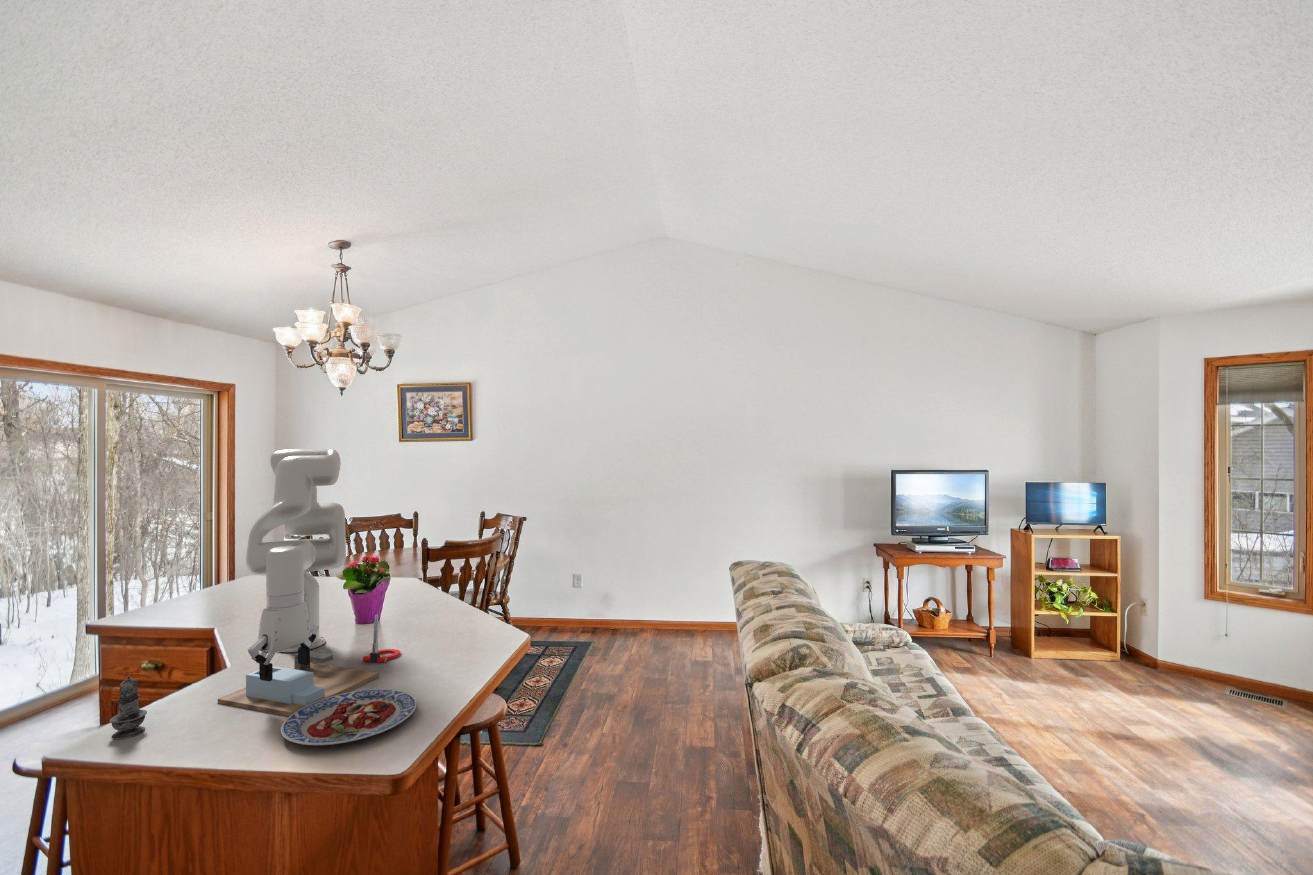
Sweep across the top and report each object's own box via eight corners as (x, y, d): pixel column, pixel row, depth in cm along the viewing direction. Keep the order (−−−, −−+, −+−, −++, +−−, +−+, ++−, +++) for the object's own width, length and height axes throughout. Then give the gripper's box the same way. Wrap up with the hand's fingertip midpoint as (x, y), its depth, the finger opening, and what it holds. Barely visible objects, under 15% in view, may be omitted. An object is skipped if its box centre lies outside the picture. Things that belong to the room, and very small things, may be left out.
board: (217, 703, 137) (217, 698, 137) (308, 666, 160) (308, 662, 160) (294, 717, 129) (294, 712, 129) (378, 676, 152) (378, 672, 152)
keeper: (294, 670, 154) (294, 654, 154) (304, 666, 157) (304, 650, 157) (323, 675, 151) (323, 658, 151) (333, 670, 154) (333, 654, 154)
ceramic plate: (328, 697, 140) (328, 685, 140) (435, 698, 139) (435, 685, 139) (249, 754, 114) (249, 739, 114) (380, 755, 114) (380, 739, 114)
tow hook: (379, 652, 172) (359, 662, 163) (381, 607, 173) (360, 614, 164) (406, 653, 171) (387, 663, 162) (407, 608, 172) (388, 615, 162)
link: (326, 695, 138) (326, 674, 139) (303, 706, 133) (303, 683, 133) (270, 686, 144) (270, 665, 144) (246, 696, 139) (246, 674, 139)
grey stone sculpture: (125, 727, 126) (125, 670, 126) (154, 725, 126) (154, 669, 126) (101, 740, 120) (101, 681, 120) (132, 739, 120) (132, 680, 121)
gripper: (305, 588, 148) (306, 656, 149) (237, 608, 132) (237, 684, 132) (328, 591, 146) (328, 660, 146) (261, 611, 130) (262, 689, 130)
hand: (285, 671), depth 139 cm, fingers open, 9 cm apart
